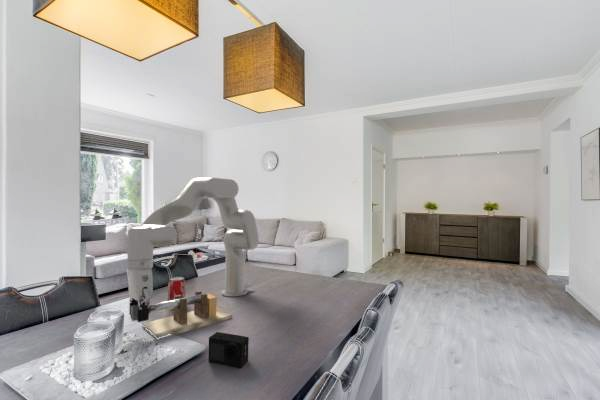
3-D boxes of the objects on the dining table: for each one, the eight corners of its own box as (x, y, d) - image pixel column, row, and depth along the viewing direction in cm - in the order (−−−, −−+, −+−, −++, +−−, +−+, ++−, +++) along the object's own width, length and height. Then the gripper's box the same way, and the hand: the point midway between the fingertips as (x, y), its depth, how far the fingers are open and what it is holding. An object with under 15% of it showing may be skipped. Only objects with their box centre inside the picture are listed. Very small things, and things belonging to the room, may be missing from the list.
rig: (213, 308, 126) (214, 284, 127) (232, 317, 117) (232, 292, 117) (142, 326, 107) (143, 298, 107) (157, 339, 97) (157, 308, 97)
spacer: (207, 310, 121) (207, 293, 121) (216, 315, 116) (216, 297, 116) (200, 312, 118) (200, 294, 119) (209, 317, 114) (209, 298, 114)
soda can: (178, 310, 124) (179, 280, 124) (163, 308, 125) (164, 279, 126) (188, 304, 131) (189, 277, 131) (173, 303, 132) (174, 275, 133)
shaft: (198, 302, 117) (198, 290, 117) (204, 305, 113) (204, 293, 113) (130, 318, 100) (130, 304, 100) (134, 322, 96) (135, 307, 96)
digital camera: (205, 364, 83) (205, 339, 83) (216, 355, 88) (216, 331, 88) (238, 371, 80) (239, 344, 80) (248, 361, 85) (248, 336, 85)
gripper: (162, 266, 96) (160, 321, 96) (143, 258, 108) (142, 307, 108) (136, 269, 91) (134, 328, 91) (120, 261, 103) (118, 312, 103)
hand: (138, 316), depth 99 cm, fingers open, 7 cm apart
